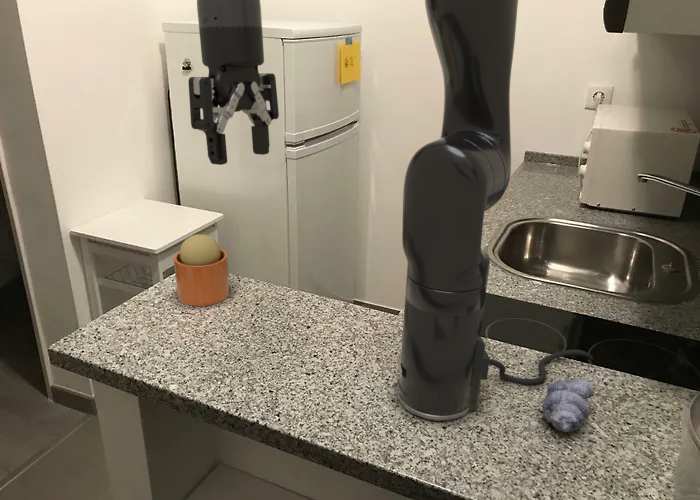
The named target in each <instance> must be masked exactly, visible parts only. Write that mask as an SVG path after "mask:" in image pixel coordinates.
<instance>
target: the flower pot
mask: <svg viewBox="0 0 700 500" xmlns="http://www.w3.org/2000/svg"><path fill="white" fill-rule="evenodd" d="M228 261H229V260H228V253H227V252H226V251H225V250H224V249H222V248H220V259H219V261H218V262H216V263H213V264H210V265H203V266H190V265H185V264H183V263H182V261H181V258H180V251H177V253H176V254H174V257H173V265H174V267H173V268H174V275H175V285H176V295H177V299H178V301H179V302H180V303H182V304H184V305H187V306H192V307H205V306H211V305H215V304H219V303H221V302H223V301H225V300H226V299H227V298H228V297H229V295H230V278H229V277H230V276H229V264H228Z"/></svg>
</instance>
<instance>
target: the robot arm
mask: <svg viewBox="0 0 700 500" xmlns="http://www.w3.org/2000/svg"><path fill="white" fill-rule="evenodd" d="M261 6H262V5H261V0H196V10H197V11H196V12H197V20H198V32H199V40H200V41H199V43H200V53H201V54H200V55H201V61H202V62H201V63H202V64H203V66H205V67H207V69H208V75H207V76H191V77H189V78H188V96H189V113H190V114H189V115H190V125H191V126H190V127H191V129H193V130H197V131H201V132H203V133H204V134H205V139H206V148H207V149H206V151H207V157H208V160H209V162H210V163H211V164H212V165H219V166H221V165H226V164H227V163H228V152H227V151H228V150H227V141H226V139H227V138H226V133H224V132H225V130H226V126H227V124H228V122H229V120H230V119H232V118H233V116H234V114H235V113H237V112H242V113H244V114H246V115H247V117H248V119H249V120H250V122H251V124H252V125H251V127H250V128H251V142H252V152H253V154H254V155H260V156H261V155H263V156H264V155H268V154H269V153H270V130H269V129H270V128H269V126H270V125H271V124H272V121H274V120H279V117H280V113H279V100H278V91H277V79H276V75H275V73H272V72H271V73H270V72H263V73H259V66H262V65H263V64H264V63H265V51H264V36H263V35H264V34H263V19H262V7H261ZM424 6H425V12H426V16H427V23H428V25H429V30H430V33H431V37H432V40H433V43H434V47H435V49H436V53H437V56H438V60H439V64H440V68H441V72H442V77H443V90H444V91H443V95H444V96H443V97H444V98H443V99H444V100H443V115H442V125H441V133H440V138H439V139H438V138H437V139H436V140H433V141H431V142H429V143H426V144H424V145H423V146H421V147H419V149H417V150H416V151H415V152H414V153H413V156H412V157H411V159H410V160H409V163H408V164H407V168H406V171H405V174H404V175H405V176H404V182H403V193H402V194H403V196H402V232H401V235H402V236H401V237H402V239H401V241H402V248H403V252H404V256H405V258H406V261H407V263H406V264H407V265H406V267H407V268H406V280H405V282H406V283H405V295H404V296H405V297H404V310H403V322H402V336H401V337H402V338H401V350H400V358H398V359H397V362H398V363H397V367H398V372H399V374H398V375H399V376H398V385H397V392H396V393H397V395H396V396H397V399H398V401H399V403H400V405H401V406H402V407H403V408H404V409H405V410H406V411H407V412H408V413H410V414H412V415H414V416H416V417H419V418H421V419H425V420H429V421H435V422H436V421H437V422H445V421H453V420H456V419H460V418H462V417H464V416H465V415H466V414H468V413H469V412H476V411H477V409H478V405H479V395H480V388H481V381H487V379H488V376H489V367H490V366H493V367H495V368H498V369H499V370H498V375H499V377H501V379H502V380H505V381H507V382H510V383H515V384H519V385H525V386H531V385H538V384H541V383H543V382H544V381H545V380H546V379H547V370H546V367H545V365H546V364H548V363H549V362H551V361H554V360H556V359H558V358H562V357H567V356H581V357H584V358H586V359H587V360H590V361H592V360H594V356H592V354H590V352H587V351H585V350H581V349H565V350H561V351H557V352H554V353H551V354H549V355H547V356H545V357H543V358H541V360H539V363H538V369H539V373H540V375H539V376H538V377H535V378H519V377H516V376H512V375H510V374H508V373H506V366H505V365H504V364H503V363H502V362H501V361H498V360H496V359H492V358H491V357H490V356H489V355H488V353H487V351H486V343H485V341H484V339H483V338H482V336H481V335H482V334H481V333H482V327H483V319H484V312H485V304H486V297H487V289H488V280H489V275H490V266H491V260H490V257H489V254H488V253H487V252H486V251H485V250H484V249H483V248H482V241H483V239H482V238H483V228H484V220H485V219H484V217H485V212H487V211H488V210H489V209H491V208H492V207H494V206H495V205H496V204H497V203H498V202H499V201H500V200H501V199H502V197H503V196H504V194H505V193H506V191H507V189H508V186H509V184H510V180H511V173H512V139H511V104H510V103H511V102H510V100H511V98H510V97H511V96H510V95H511V76H512V68H513V59H514V50H515V43H516V42H515V41H516V31H517V18H518V6H519V0H424ZM267 102H269V109H267V108H268V105H267ZM201 110H202V113H201ZM201 114H202V115H201Z"/></svg>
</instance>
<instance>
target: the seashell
mask: <svg viewBox="0 0 700 500" xmlns="http://www.w3.org/2000/svg"><path fill="white" fill-rule="evenodd" d="M594 392H595V387H594V386H593V385H592V382H590V381H587V380H586V379H575V380H574V379H573V380H571V379H568V380H567V379H564V380H563V379H561V380H558V381H555V382H553V383H551V384H549V386H548V387H547V391H546V393H547V396H546V397H545V398H544V400H543V402H542V412H543V414H544V416H545V419H546V421H547V422H548V423H551V425H552V426H553V428H555V430H556V431H558V432H564V433H567V432H571V433H572V432H575V431H577V430H581V428H582V427H583V426H584V423H585V421H586V420H587V418H588V417H589V415H590V405H589V404H588V402H587V401H586V400H587V399H591V398H592V397H593V395H594Z"/></svg>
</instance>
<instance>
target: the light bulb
mask: <svg viewBox="0 0 700 500" xmlns="http://www.w3.org/2000/svg"><path fill="white" fill-rule="evenodd" d="M220 249H221V247H220V245H219V243H218V241H217V240H216V239H215V238H214V237H212V236H210V235H207V234H201V233H200V234H194V235H191V236H189V237H187V238H186V239H185V240H183V242H182V243H181V246H180V249H179V252H180V258H181V261H182V263H183V264H185V265H190V266H203V265H210V264H213V263H216V262H218V261H219V259H220Z"/></svg>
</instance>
